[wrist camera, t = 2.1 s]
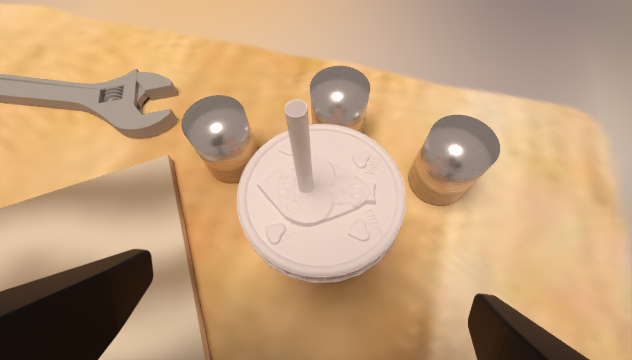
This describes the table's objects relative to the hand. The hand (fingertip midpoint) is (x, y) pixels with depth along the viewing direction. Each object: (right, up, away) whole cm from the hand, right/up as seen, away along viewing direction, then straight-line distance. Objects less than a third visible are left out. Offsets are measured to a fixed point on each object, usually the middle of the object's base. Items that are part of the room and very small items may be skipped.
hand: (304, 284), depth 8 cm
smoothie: (+1, -2, +12) cm, 12 cm away
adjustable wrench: (-24, +11, +20) cm, 32 cm away
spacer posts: (+2, +5, +15) cm, 16 cm away
